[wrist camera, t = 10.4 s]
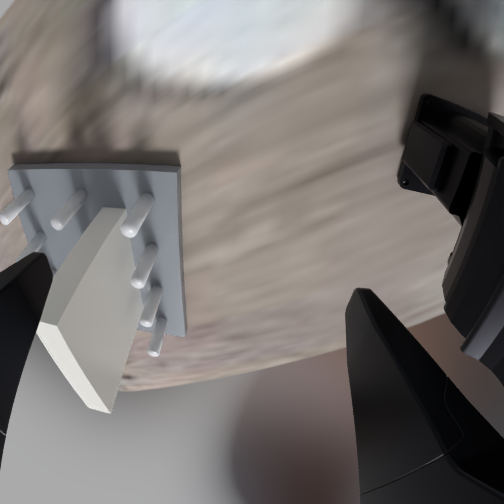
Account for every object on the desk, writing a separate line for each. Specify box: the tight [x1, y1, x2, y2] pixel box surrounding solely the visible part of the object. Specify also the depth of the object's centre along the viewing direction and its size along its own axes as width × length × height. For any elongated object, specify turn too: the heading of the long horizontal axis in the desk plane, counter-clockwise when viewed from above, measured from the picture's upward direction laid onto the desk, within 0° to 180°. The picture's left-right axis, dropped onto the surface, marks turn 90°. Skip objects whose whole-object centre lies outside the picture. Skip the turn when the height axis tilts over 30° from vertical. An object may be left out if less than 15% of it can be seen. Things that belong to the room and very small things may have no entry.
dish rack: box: [0, 163, 187, 357], centre depth 22 cm, size 14×16×4 cm
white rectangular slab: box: [36, 207, 143, 414], centre depth 19 cm, size 2×10×10 cm, turn 174°
